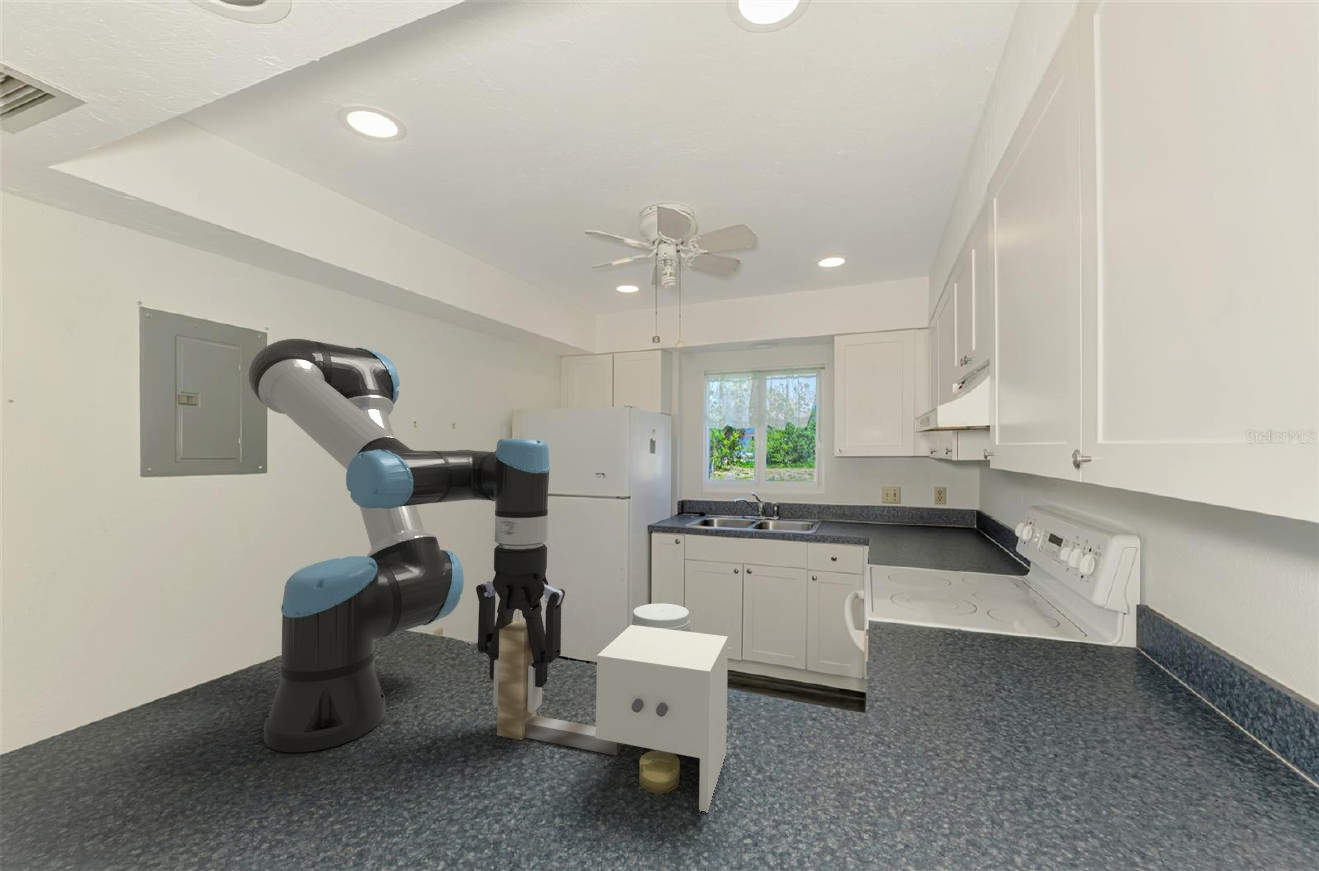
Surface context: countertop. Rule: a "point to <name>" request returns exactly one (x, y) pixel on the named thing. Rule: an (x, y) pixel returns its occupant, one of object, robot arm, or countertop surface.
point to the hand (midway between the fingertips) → (517, 704)
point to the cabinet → (666, 696)
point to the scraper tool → (515, 700)
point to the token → (659, 771)
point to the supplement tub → (662, 617)
